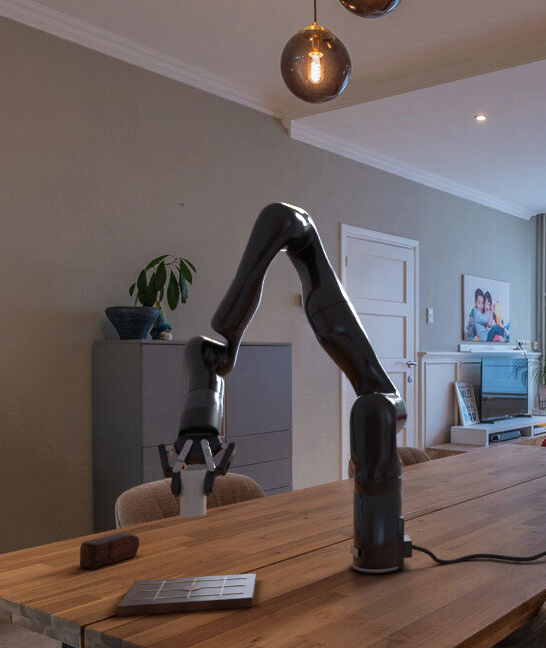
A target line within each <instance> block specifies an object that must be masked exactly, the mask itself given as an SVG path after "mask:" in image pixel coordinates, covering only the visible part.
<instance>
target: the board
mask: <svg viewBox="0 0 546 648" xmlns="http://www.w3.org/2000/svg"><path fill="white" fill-rule="evenodd" d="M256 584H257V573H243V574H241V573H239V574H226V575H225V574H224V575H207V576H191V577H173V578H172V577H171V578H156V579H154V578H153V579H137V580H134V582H133V583H132V584H131V586H130V587H129V588H128V590H127V592H125V594H124V596H123V598H121V600H120V602H119V603H118V605H117V606H116V616H117V617H123V616H137V615H139V616H140V615H153V614H154V615H155V614H167V613H181V612H182V613H184V612H197V611H211V610H223V609H224V610H227V609H241V608H243V609H244V608H253V606H254V605H253V604H254V598H255V591H256Z"/></svg>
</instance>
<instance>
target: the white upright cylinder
mask: <svg viewBox="0 0 546 648" xmlns="http://www.w3.org/2000/svg"><path fill="white" fill-rule="evenodd" d="M206 472H207V469H206V467H198V466H197V467H195V466H194V467H188V468H185V469H181V470H180V496H179V517H181V518H183V519H191V518H192V519H193V518H194V519H195V518H202V517H204V516H206V515H207V496H205V480H206Z"/></svg>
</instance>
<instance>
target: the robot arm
mask: <svg viewBox="0 0 546 648" xmlns="http://www.w3.org/2000/svg"><path fill="white" fill-rule="evenodd" d="M282 251H283V252H284V253H285V255H286V256H287V258H288V259H289V261H290V262H291V264H292V266H293V268H294V270H295V272H296V273H297V276H298V278H299V283H300V288H301V300H302V301H301V302H302V308H303V312H304V315H305V318H306V320H307V321H306V322H307V323H308V325H309V328H310V329H311V331H312V334H313V335H314V337H315V339H316V341H317V343H318V344H319V346H320V347H321V348H322V349H323V351H324V352H325V353H326V355H327V356H328V357H329V358H330V360H331V361H332V362H333V363H334V364H335V365H336V366H337V367H338V368H339V369H340V370H341V371H342V373H343V374H344V376H345V377H346V378H347V380H348V381H349V384H350V386H351V387H352V389H353V391H354V392H355V395H356V399H355V400H354V401H353V403H352V406H351V409H350V412H349V456H350V461H351V464H352V466H353V511H352V513H353V515H352V520H353V523H352V524H353V525H352V527H353V528H352V544H350V554H351V555H352V564H351V565H352V567H351V568H352V569H353V570H354V571H356V572H359V573H363V574H372V575H373V574H374V575H378V574H389V573H394V572H396V571H403V570H404V569H405V559H409V558H411V559H412V558H413V550H415V551H418V552H421V553H424V554H426V555H427V556H429V557H430V558H431V559H432V560H433V561H434V563H437V564H441V565H448V564H455V563H460V562H465V561H468V560H473V559H494V560H502V561H503V560H504V561H510V562H532V561H535V560H538V559H540V558H544V557H546V550H544V551H541V552H539V553H536V554H534V555H531V556H511V555H504V554H495V553H471V554H467V555H464V556H460V557H457V558H453V559H441V558H439V557H437V556H436V555H435V554H434V553H433V552H432V550H429V549H427V548H425V547H422V546H419V545H415V544H413V540H412V539H411V537H410V535H409V534H405V518H404V516H403V474H404V473H403V470H404V465H403V461H402V459H401V458H400V457H399V453H398V445H397V444H398V443H397V442H398V441H397V438H398V437H397V435H398V434H399V433H400V432H402V431H403V429H404V428H405V427H406V424H407V421H408V408H407V405H406V403H405V400H404V399H403V397H402V395H401V394H400V392H399V391H398V389H397V388H396V386H395V384H394V383H393V381H392V380H391V379H390V377H389V374H387V372H386V370H385V368H384V367H383V365H382V364H381V362H380V360H379V358H378V356H377V354H376V352H375V350H374V347H373V345H372V342H371V341H370V338H369V337H368V334H367V332H366V331H365V329H364V327H363V324H362V322H361V319H360V318H359V316H358V313H357V312H356V310H355V308H354V305H353V303H352V302H351V300H350V298H349V296H348V295H347V293H346V290H345V289H344V287H343V285H342V283H341V281H340V279H339V278H338V275H337V274H336V272H335V269H334V268H333V267H332V265H331V262H330V261H329V258H328V256H327V253H326V251H325V248H324V245H323V243H322V240H321V238H320V234H319V233H318V230H317V227H316V225H315V222H314V220H313V218H312V217H311V216H310V215H309V213H308V212H306V211H305V210H304V209H302V208H300V207H297V206H293V205H290V204H289V203H288V204H287V203H285V202H280V201H278V202H277V201H275V202H270V203H269V204H267V205H265V206H264V207H263V208H262V209H261V210H260V212H259V213H258V215H257V217H256V219H255V221H254V223H253V226H252V229H251V232H250V234H249V237H248V241H247V243H246V246H245V248H244V251H243V254H242V255H241V259H240V262H239V264H238V266H237V269H236V271H235V274H234V276H233V278H232V281H231V283H230V284H229V286H228V288H227V290H226V292H225V293H224V296H223V297H222V299H221V301H220V303H219V305H218V306H217V308H216V309H215V311H214V313H213V314H212V317H211V319H210V322H209V323H210V327H211V329H212V330H213V331H214V332H215V333H216V334H217V335H220V336H221V337H222V338H224V339H225V342H224V343H221V342H219V341H217V340H215V339H211V338H209V337H206V336H204V335H195V336H193V337H191V338H189V339H188V340H187V341H186V342H185V344H184V347H183V349H182V356H181V363H182V366H183V372H184V376H185V381H186V389H185V390H186V391H185V397H184V401H183V403H182V408H181V414H180V418H179V426H178V431H177V432H178V433H177V437H176V440H174V441H173V444H170V445H166V444H164V443H160V444H158V445H157V449H158V454H159V461H160V465H161V469H162V473H163V477H164V478H165V479H169V478H171V482H170V492H171V495H174V498H180V470H181V469H185V468H189V466H192V465H205V468H206V469H207V472H206V480H205V496H206V497H210V495H211V494H213V493H214V491H215V484H216V478H217V477H219V476H221V477H225V476H227V474H228V471H229V469H230V468H231V465H232V463H233V461H234V458H235V456H236V454H237V448H236V442H233V441H231V442H229V443H223V441H222V440H221V436H222V435H221V433H222V425H223V419H224V404H223V403H224V402H223V401H224V392H225V381H224V378H226V377H228V376H229V375H230V374H231V373H232V372H233V370H234V368H235V365H236V362H237V357H238V351H239V347H240V345H241V341H242V339H243V336H244V334H245V331H246V330H247V328H248V326H249V325H250V323H251V321H252V320H253V318H254V316H255V314H256V312H257V310H258V308H259V306H260V304H261V300H262V294H263V287H264V282H265V278H266V275H267V273H268V270H269V268H270V266H271V264H272V263H273V261H274V260H275V259H276V257H277V255H278V254H279V253H280V252H282ZM221 451H222V457H221V459H220V462H219V464H217V465H215V463H214V458H215V457H216V456H217V455H218V454H219V453H220V452H221ZM174 452H175V453H176V455H177V459H176V462H175V465H174V466H173V467H172V466H170V462H169V459H171V458H172V456H173V455H172V453H174Z"/></svg>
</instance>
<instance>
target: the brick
mask: <svg viewBox="0 0 546 648" xmlns="http://www.w3.org/2000/svg"><path fill="white" fill-rule="evenodd" d="M139 547H140V539H139V536H137V535H136V534H134V533H131V532H130V533H129V532H118V533H115V534H111V535H106V536H103V537H99V538H93V539H89V540H86V541H84V542H82V543H81V544H80V547H79V566H80V568H86V569H93V570H95V569H99V568H103V567H105V566H109V565H113V564H117V563H119V562H122V561H125V560H127V559H130V558H133V557H136V556H137V552H138V550H139Z"/></svg>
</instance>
